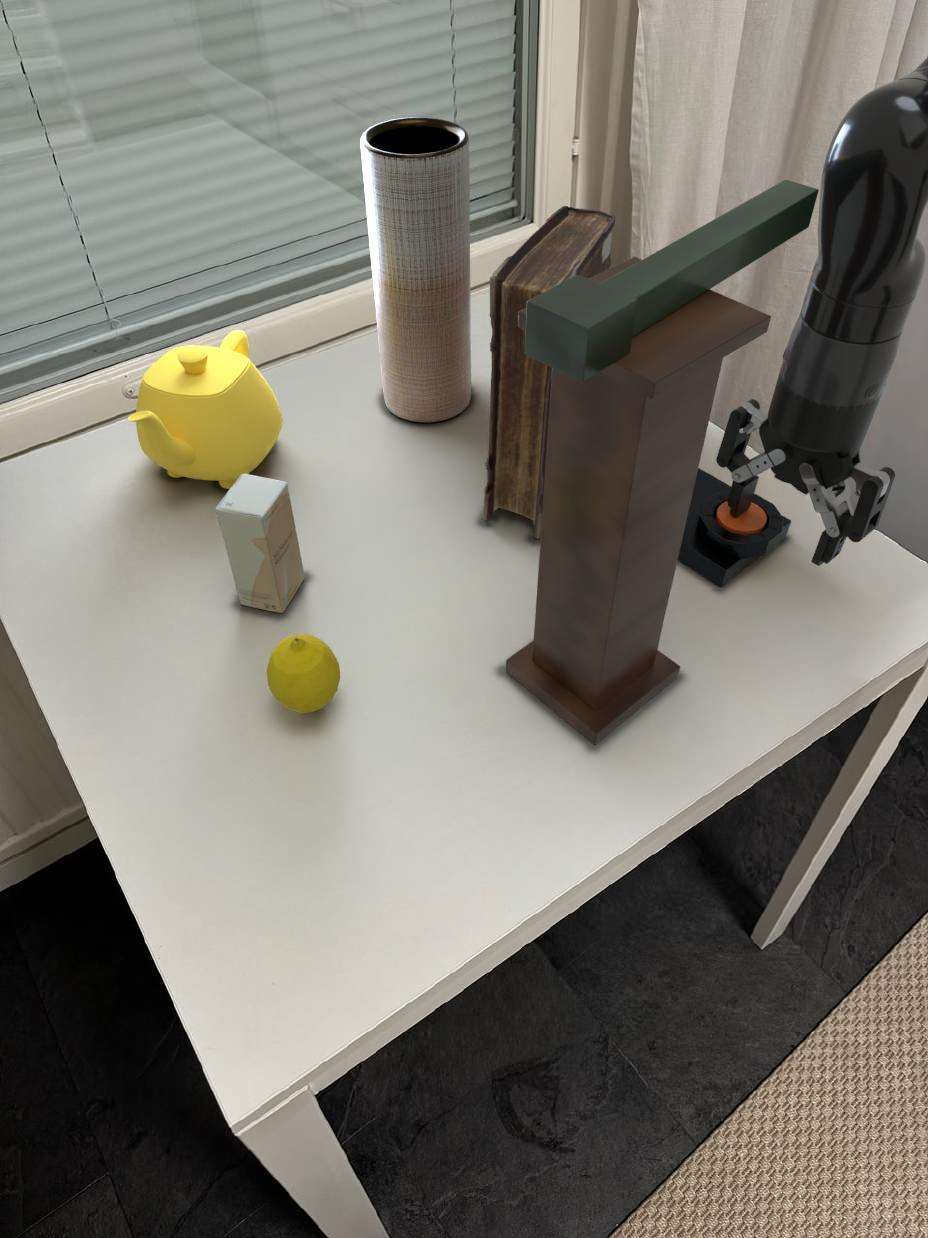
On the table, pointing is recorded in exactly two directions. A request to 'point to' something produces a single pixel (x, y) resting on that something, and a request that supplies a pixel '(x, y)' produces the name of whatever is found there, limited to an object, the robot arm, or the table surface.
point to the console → (724, 534)
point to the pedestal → (622, 511)
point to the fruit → (303, 673)
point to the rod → (658, 283)
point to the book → (523, 381)
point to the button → (741, 520)
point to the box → (261, 542)
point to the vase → (420, 263)
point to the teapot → (207, 412)
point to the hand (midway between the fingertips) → (778, 535)
